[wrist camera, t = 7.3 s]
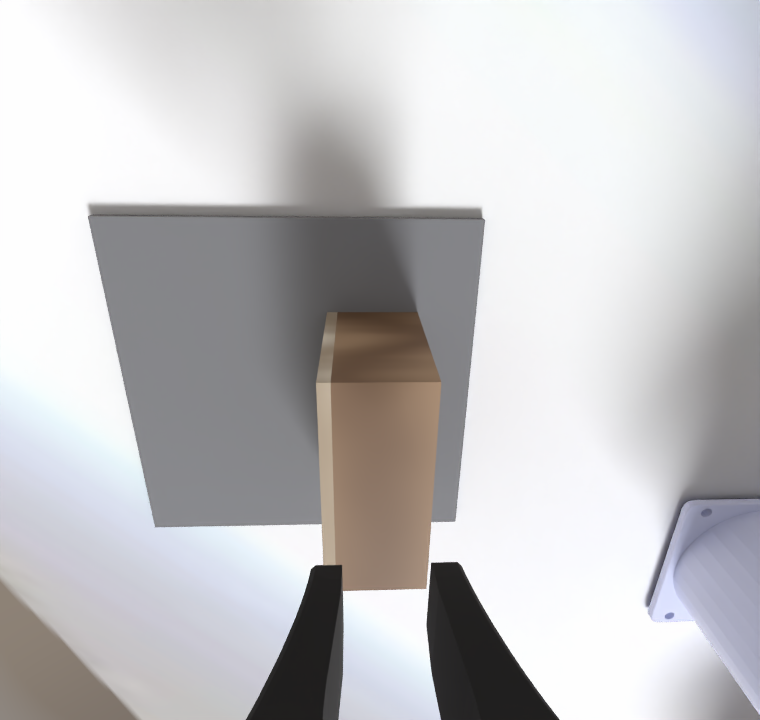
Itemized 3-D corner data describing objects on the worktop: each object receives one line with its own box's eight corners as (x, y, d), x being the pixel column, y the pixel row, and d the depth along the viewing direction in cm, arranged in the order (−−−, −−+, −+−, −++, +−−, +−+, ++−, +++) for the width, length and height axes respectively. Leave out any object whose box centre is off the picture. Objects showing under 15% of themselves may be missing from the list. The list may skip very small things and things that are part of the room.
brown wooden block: (417, 312, 20) (441, 382, 14) (409, 479, 23) (426, 588, 18) (327, 311, 20) (315, 382, 14) (332, 481, 23) (324, 591, 17)
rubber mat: (482, 218, 19) (485, 219, 18) (453, 517, 24) (455, 521, 24) (91, 214, 18) (87, 216, 18) (157, 522, 24) (155, 527, 23)
